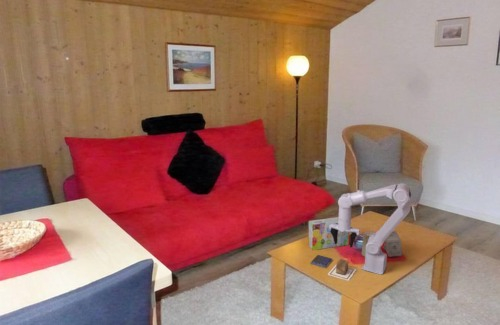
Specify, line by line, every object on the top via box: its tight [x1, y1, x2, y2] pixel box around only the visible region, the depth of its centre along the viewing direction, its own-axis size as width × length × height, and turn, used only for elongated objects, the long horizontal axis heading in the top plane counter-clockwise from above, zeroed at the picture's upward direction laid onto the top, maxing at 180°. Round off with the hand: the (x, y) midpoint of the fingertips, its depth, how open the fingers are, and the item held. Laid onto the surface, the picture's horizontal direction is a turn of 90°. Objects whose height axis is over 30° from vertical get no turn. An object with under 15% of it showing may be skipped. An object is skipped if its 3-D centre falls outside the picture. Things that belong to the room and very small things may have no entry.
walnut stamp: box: [335, 258, 349, 275], centre depth 172 cm, size 4×5×5 cm
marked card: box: [327, 264, 357, 282], centre depth 173 cm, size 10×11×1 cm
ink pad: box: [309, 254, 333, 269], centre depth 183 cm, size 8×9×1 cm
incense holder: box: [382, 230, 403, 258], centre depth 189 cm, size 10×8×10 cm
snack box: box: [308, 216, 350, 251], centre depth 198 cm, size 21×6×15 cm, turn 104°
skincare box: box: [361, 230, 377, 257], centre depth 187 cm, size 6×4×12 cm
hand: (343, 244), depth 180 cm, fingers open, 7 cm apart
